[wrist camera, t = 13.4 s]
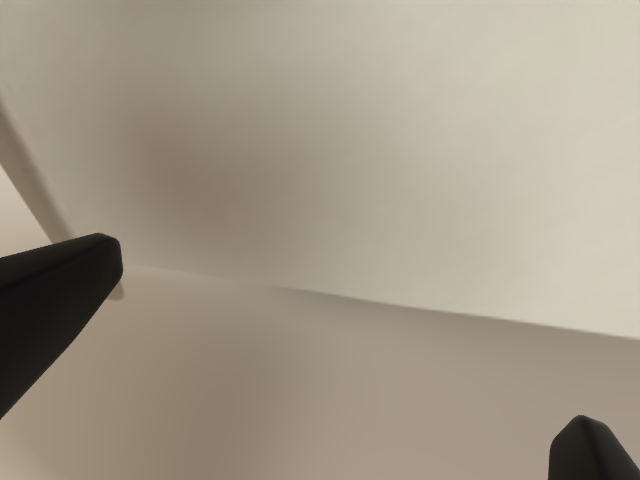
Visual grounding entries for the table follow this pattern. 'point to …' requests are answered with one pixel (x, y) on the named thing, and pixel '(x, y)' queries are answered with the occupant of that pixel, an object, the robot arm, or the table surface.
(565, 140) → the table surface
